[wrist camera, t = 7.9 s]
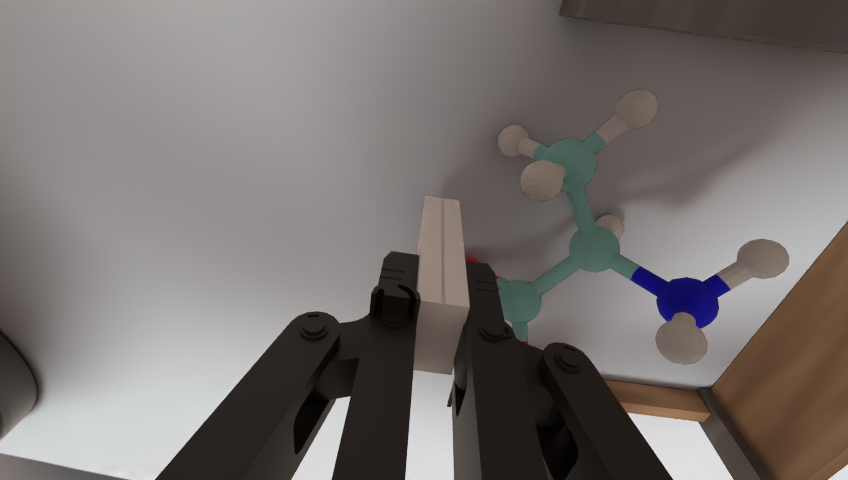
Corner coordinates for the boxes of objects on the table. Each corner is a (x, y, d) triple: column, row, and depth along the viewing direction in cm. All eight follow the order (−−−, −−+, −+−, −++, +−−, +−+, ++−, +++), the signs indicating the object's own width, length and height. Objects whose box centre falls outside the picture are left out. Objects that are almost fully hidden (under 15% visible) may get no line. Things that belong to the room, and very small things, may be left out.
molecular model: (371, 105, 12) (634, 388, 6) (598, 39, 15) (921, 187, 9) (397, 306, 21) (516, 505, 15) (538, 239, 24) (683, 382, 18)
